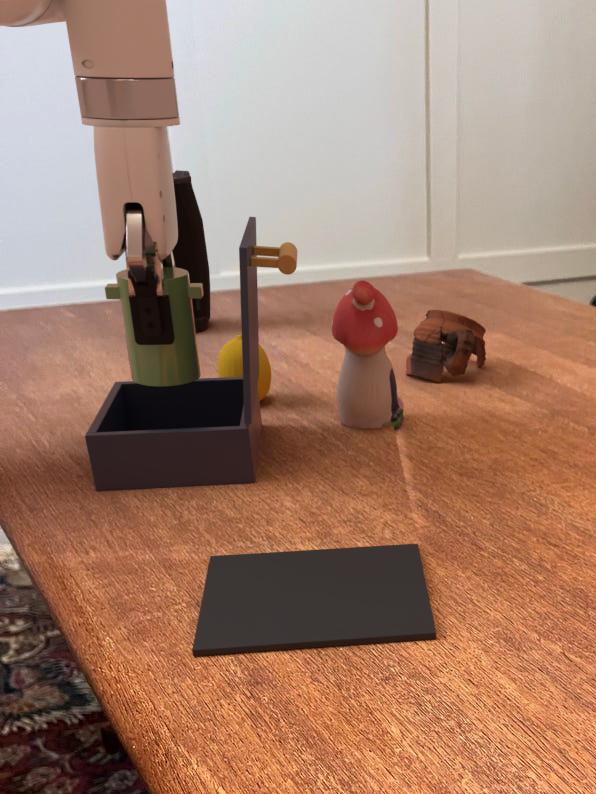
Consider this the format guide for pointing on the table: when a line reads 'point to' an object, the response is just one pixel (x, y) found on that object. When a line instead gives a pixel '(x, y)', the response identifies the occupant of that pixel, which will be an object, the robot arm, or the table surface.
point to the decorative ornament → (366, 359)
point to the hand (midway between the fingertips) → (160, 331)
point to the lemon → (233, 364)
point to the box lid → (256, 303)
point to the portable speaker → (192, 245)
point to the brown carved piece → (445, 345)
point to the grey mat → (313, 600)
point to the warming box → (174, 436)
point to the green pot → (181, 356)
